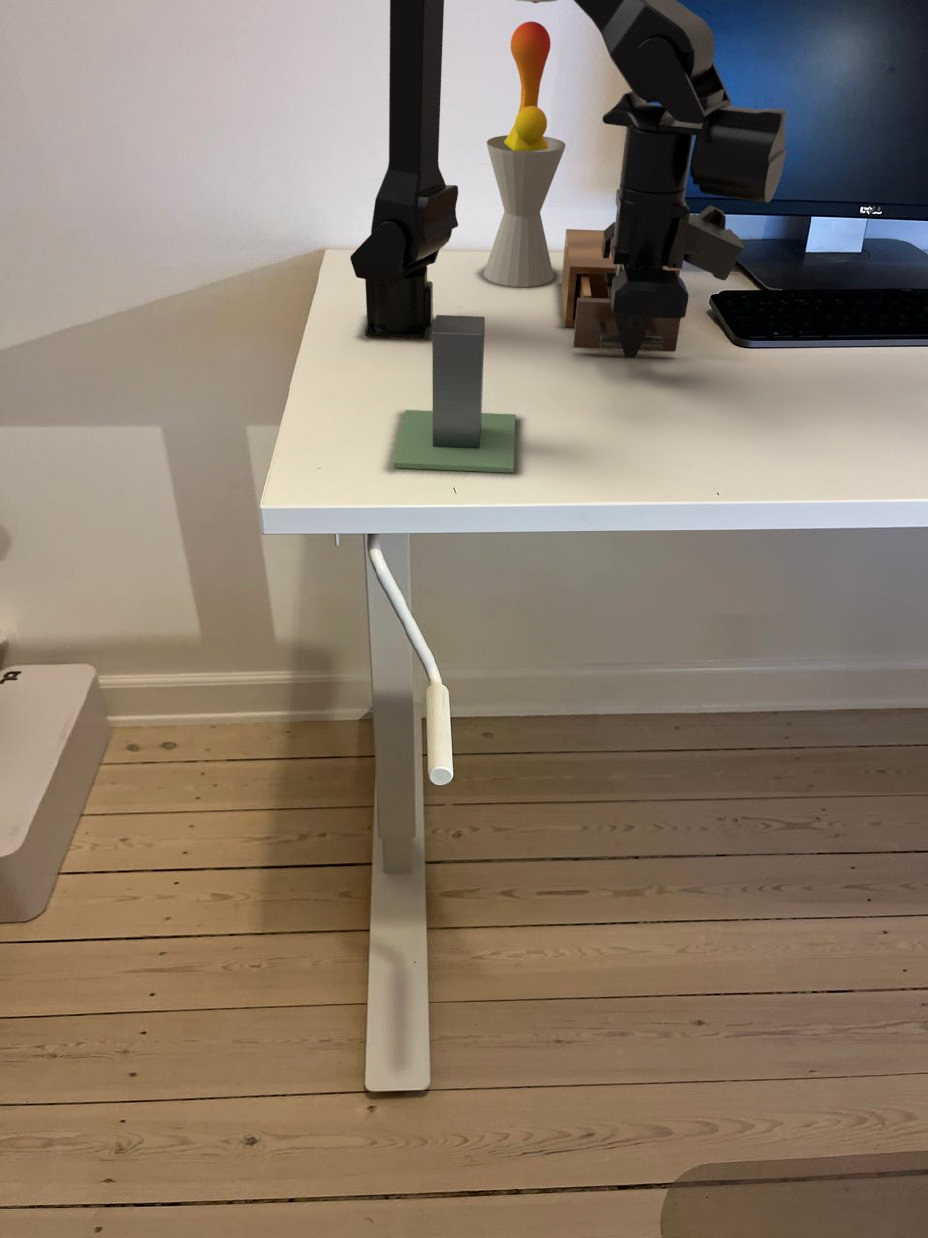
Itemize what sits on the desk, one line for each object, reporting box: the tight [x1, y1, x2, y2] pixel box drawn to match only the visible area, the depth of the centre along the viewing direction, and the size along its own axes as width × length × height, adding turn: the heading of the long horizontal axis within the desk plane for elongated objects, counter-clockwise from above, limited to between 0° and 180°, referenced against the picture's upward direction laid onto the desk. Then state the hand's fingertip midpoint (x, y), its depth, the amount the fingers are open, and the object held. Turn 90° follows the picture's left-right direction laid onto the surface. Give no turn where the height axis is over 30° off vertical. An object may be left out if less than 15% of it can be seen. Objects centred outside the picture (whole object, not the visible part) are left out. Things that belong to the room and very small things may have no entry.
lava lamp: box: [483, 0, 566, 288], centre depth 108 cm, size 9×9×35 cm
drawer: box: [572, 274, 682, 353], centre depth 100 cm, size 17×10×5 cm, turn 177°
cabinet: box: [561, 228, 681, 328], centre depth 109 cm, size 14×12×7 cm
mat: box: [393, 409, 516, 474], centre depth 83 cm, size 10×10×1 cm
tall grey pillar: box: [431, 314, 486, 448], centre depth 80 cm, size 4×4×10 cm
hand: (629, 356), depth 93 cm, fingers closed
